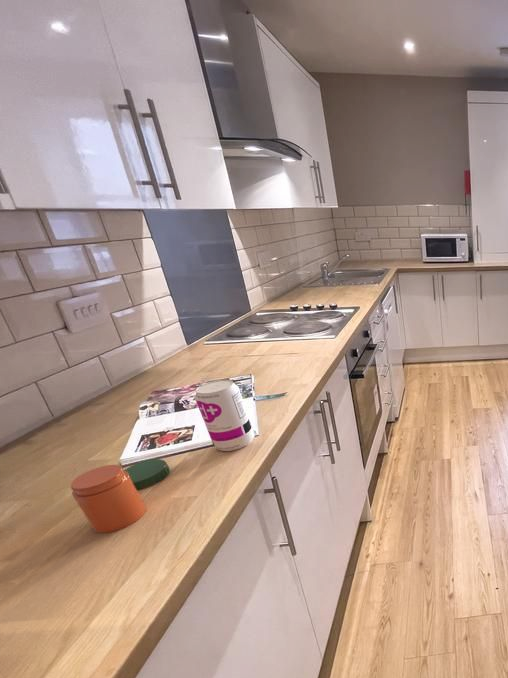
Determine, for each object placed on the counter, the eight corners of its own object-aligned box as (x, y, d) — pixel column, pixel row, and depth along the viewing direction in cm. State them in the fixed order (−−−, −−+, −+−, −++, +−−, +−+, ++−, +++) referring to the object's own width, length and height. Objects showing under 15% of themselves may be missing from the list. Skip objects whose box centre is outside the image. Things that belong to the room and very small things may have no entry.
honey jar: (81, 534, 72) (54, 491, 67) (115, 505, 78) (92, 464, 74) (126, 531, 72) (101, 488, 68) (155, 502, 79) (135, 462, 74)
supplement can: (233, 455, 92) (211, 396, 86) (206, 449, 95) (183, 391, 88) (263, 436, 99) (244, 381, 93) (237, 431, 102) (218, 376, 95)
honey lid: (178, 465, 90) (175, 458, 89) (151, 489, 82) (147, 482, 81) (139, 467, 89) (136, 460, 88) (108, 492, 82) (104, 484, 81)
